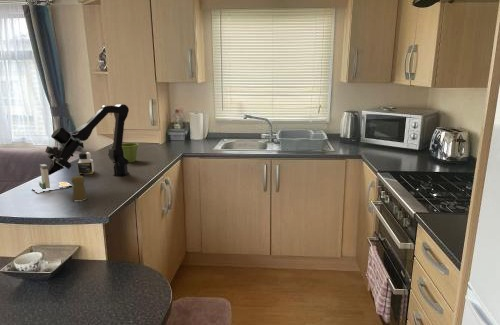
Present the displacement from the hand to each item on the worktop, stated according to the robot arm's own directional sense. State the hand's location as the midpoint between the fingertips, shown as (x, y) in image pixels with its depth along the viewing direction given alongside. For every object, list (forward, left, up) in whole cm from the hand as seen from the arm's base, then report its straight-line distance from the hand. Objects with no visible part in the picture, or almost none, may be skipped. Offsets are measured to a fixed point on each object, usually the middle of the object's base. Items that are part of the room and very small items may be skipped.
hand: (47, 174), depth 180 cm
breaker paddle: (+1, +1, -6) cm, 6 cm away
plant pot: (-9, -61, -7) cm, 63 cm away
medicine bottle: (+1, -30, -7) cm, 31 cm away
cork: (-26, +13, -7) cm, 30 cm away
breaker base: (-1, -1, -7) cm, 7 cm away
